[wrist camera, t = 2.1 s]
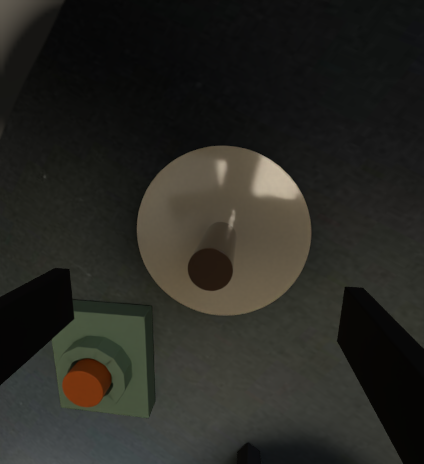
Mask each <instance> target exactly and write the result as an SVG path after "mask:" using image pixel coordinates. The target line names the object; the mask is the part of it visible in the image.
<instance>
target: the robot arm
mask: <svg viewBox="0 0 424 464" xmlns="http://www.w3.org/2000/svg"><path fill="white" fill-rule="evenodd" d="M74 319H75V318H74V309H73V300H72V290H71V281H70V271H69V269H61V268H54V269H52V270H50V271H48V272H47V273H45V274H43V275H41V276H39V277H37V278H35V279H33V280H31V281H30V282H28V283H26V284H24V285H22V286H20V287H18V288H16V289H15V290H13V291H11V292H9V293H7V294H5V295H3V296H1V297H0V385H1V384H2V383H3V382H4V381H6V380H7V379H8V378H9V377H10V376H11V375H12V374H13V373H15V372H16V371H17V370H18V369H19V368H20V367H21V366H22V365H23V364H25V363H26V362H27V361H28V360H29V359H30V358H31V357H32V356H34V355H35V354H36V353H37V352H38V351H39V350H40V349H41V348H42V347H44V346H45V345H46V344H47V343H48V342H49V341H50V340H51V339H53V338H54V337H55V336H56V335H57V334H58V333H59V332H60V331H62V330H63V329H64V328H65V327H66V326H67V325H68V324H69V323H70V322H72V321H73V320H74ZM337 342H338V344H339V345H340V347H341V349H342V351H343V353H344V355H345V356H346V358H347V360H348V362H349V364H350V366H351V368H352V369H353V371H354V373H355V375H356V377H357V379H358V381H359V382H360V384H361V386H362V388H363V390H364V392H365V394H366V395H367V397H368V399H369V401H370V403H371V405H372V407H373V408H374V410H375V412H376V414H377V416H378V418H379V419H380V421H381V423H382V425H383V427H384V429H385V431H386V432H387V434H388V436H389V438H390V440H391V442H392V444H393V445H394V447H395V449H396V451H397V453H398V455H399V457H400V458H401V460H402V462H403V464H424V349H423V348H422V347H421V346H420V345H419V344H418V343H417V342H416V341H415V340H414V339H413V338H412V337H411V336H410V335H409V334H408V333H407V332H406V331H405V330H404V329H403V328H402V327H401V326H400V325H399V324H398V323H397V322H396V321H395V320H394V319H393V318H392V317H391V316H390V315H389V314H388V313H387V312H386V311H385V310H384V308H383V307H382V306H381V305H380V304H379V303H378V302H377V301H376V300H375V299H374V298H373V297H372V296H371V295H370V294H369V293H368V292H367V291H366V290H365V289H364V288H357V287H345V290H344V297H343V304H342V311H341V318H340V325H339V332H338V339H337Z"/></svg>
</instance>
